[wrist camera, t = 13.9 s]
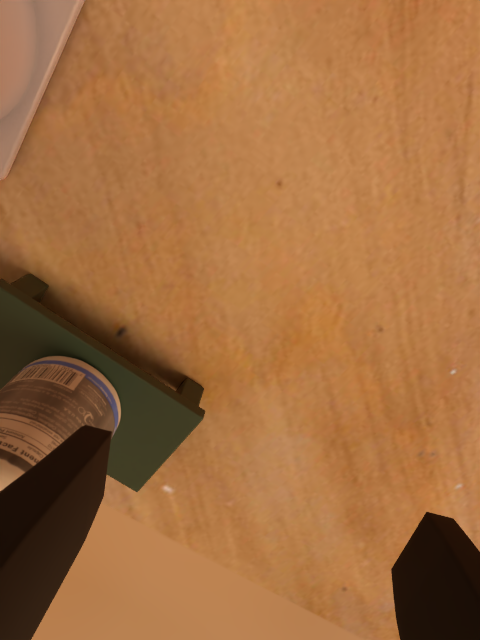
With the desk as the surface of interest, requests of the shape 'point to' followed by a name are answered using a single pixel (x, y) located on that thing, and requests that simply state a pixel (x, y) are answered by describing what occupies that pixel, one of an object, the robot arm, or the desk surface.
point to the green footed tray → (127, 379)
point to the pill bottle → (50, 410)
